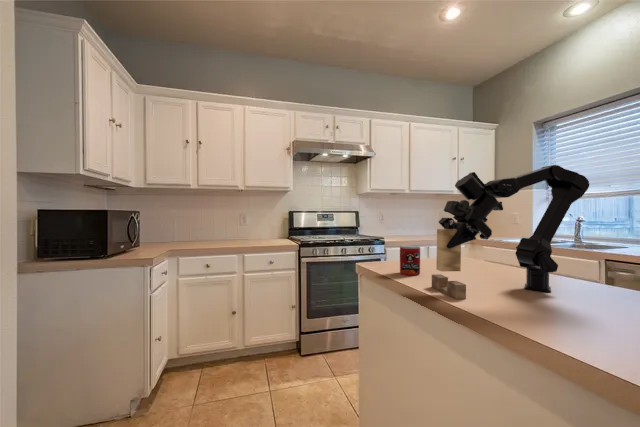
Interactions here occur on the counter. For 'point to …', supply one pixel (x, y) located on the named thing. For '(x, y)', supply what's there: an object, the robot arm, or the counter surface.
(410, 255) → the canned food
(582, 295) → the counter surface
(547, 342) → the counter surface
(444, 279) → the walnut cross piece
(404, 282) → the counter surface
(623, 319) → the counter surface
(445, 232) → the beige tall block
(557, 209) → the robot arm
